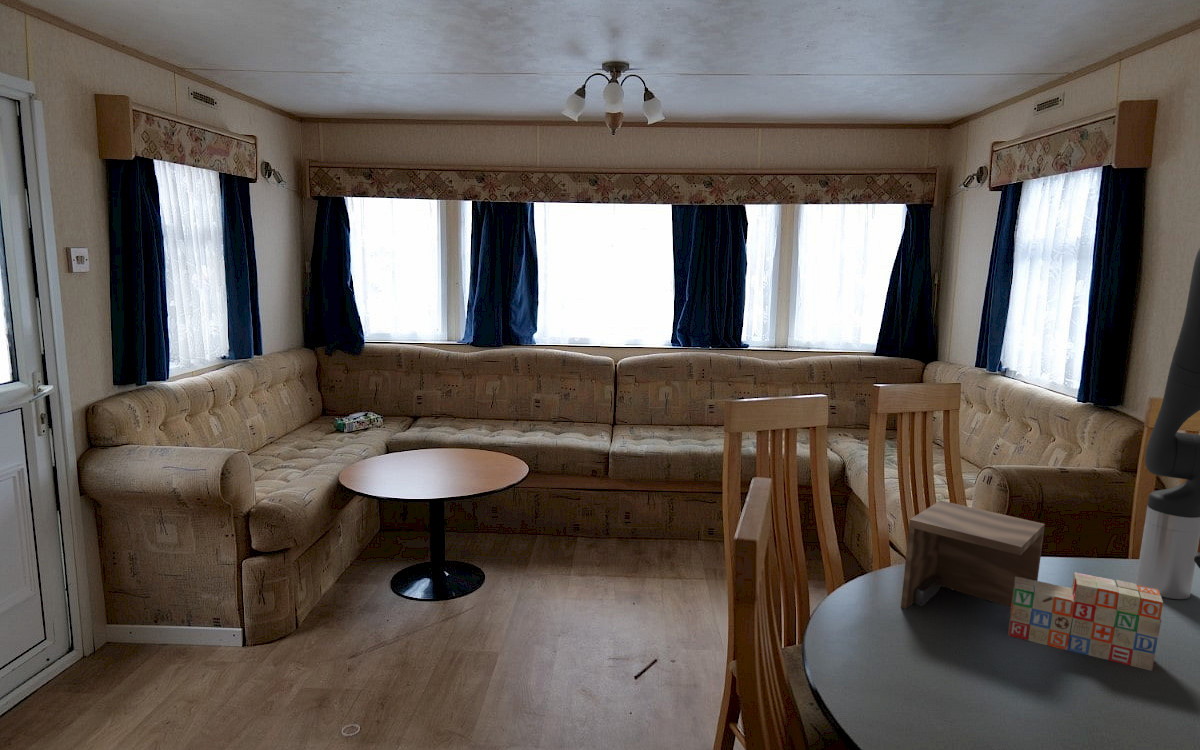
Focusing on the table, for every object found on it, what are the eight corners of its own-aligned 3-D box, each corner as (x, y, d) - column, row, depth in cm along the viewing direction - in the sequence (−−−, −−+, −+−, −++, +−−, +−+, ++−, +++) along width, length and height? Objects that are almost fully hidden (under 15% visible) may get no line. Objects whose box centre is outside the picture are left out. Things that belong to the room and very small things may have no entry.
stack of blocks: (1007, 637, 137) (1015, 571, 136) (1008, 623, 143) (1016, 559, 141) (1153, 671, 127) (1164, 601, 125) (1148, 655, 133) (1159, 587, 131)
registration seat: (931, 588, 157) (933, 574, 156) (939, 590, 156) (941, 576, 155) (914, 603, 149) (915, 589, 149) (922, 606, 148) (923, 591, 148)
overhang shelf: (931, 581, 160) (940, 500, 157) (1033, 611, 148) (1044, 524, 145) (900, 607, 147) (909, 519, 145) (1009, 642, 135) (1021, 547, 132)
